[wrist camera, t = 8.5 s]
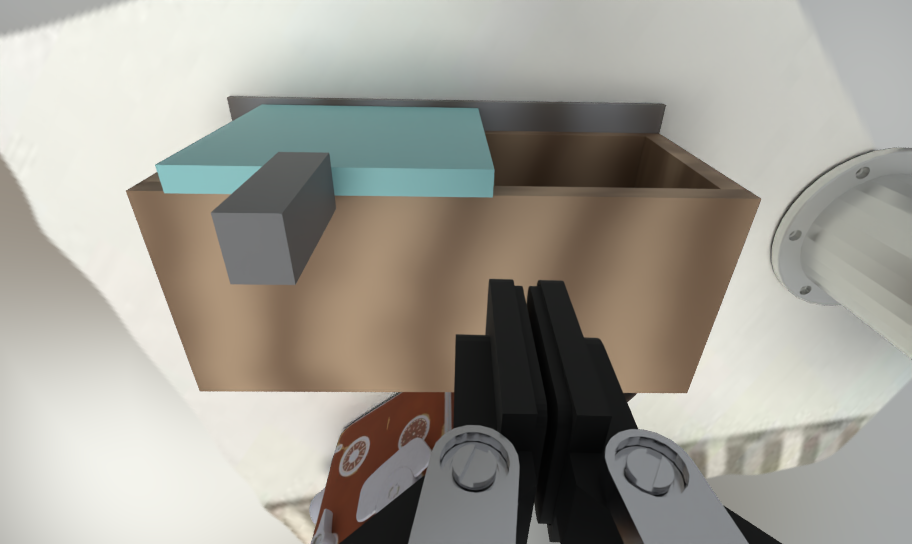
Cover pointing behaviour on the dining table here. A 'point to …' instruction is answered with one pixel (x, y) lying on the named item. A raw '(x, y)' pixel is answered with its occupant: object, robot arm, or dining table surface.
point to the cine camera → (379, 461)
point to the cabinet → (469, 258)
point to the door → (321, 174)
